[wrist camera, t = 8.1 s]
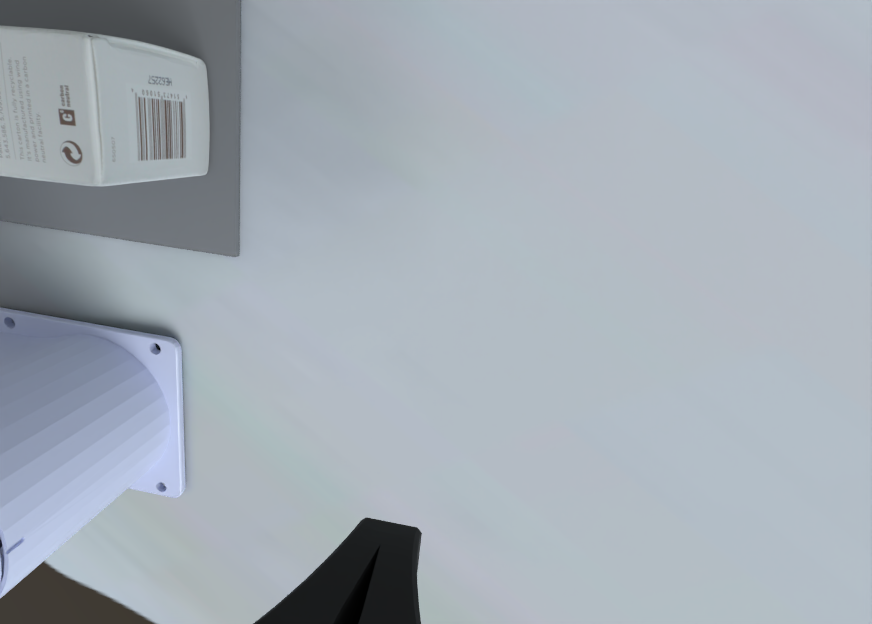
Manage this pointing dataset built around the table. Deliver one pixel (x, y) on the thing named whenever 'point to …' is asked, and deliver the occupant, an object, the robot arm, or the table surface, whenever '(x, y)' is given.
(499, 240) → the table surface
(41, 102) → the skincare box
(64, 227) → the mat
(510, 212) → the table surface
